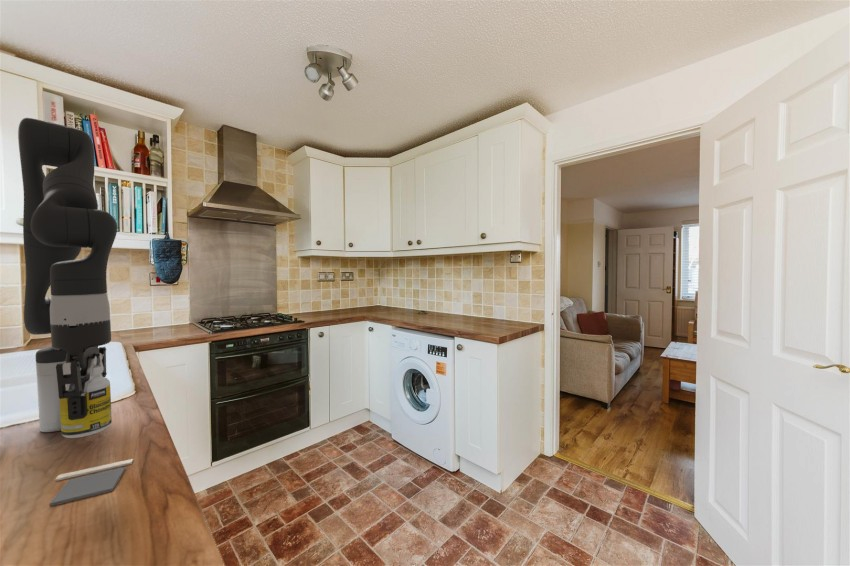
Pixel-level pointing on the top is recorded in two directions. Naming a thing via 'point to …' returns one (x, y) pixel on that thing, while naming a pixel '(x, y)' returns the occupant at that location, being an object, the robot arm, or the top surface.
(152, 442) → the top surface
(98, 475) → the mat
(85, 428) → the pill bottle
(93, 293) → the robot arm
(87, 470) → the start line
